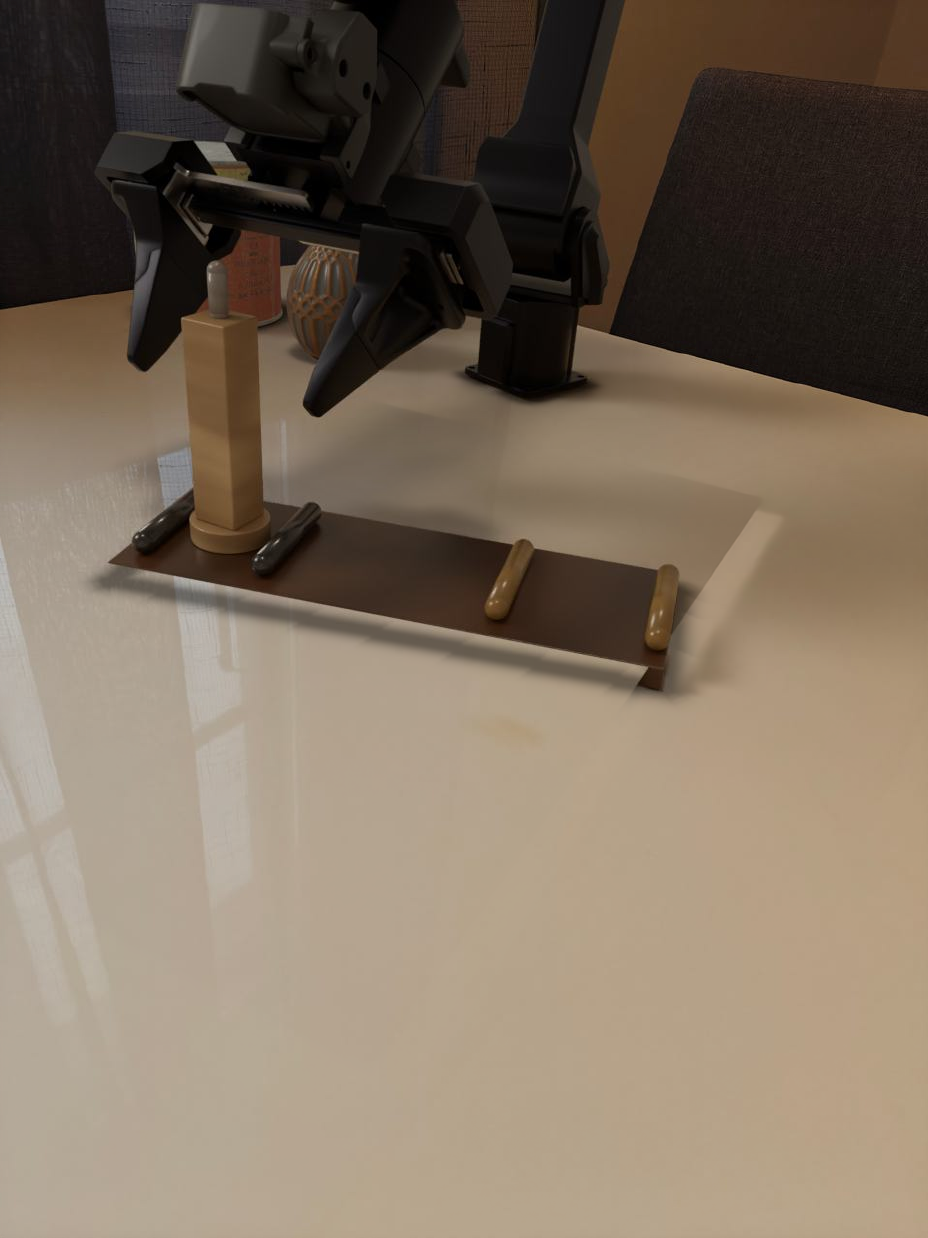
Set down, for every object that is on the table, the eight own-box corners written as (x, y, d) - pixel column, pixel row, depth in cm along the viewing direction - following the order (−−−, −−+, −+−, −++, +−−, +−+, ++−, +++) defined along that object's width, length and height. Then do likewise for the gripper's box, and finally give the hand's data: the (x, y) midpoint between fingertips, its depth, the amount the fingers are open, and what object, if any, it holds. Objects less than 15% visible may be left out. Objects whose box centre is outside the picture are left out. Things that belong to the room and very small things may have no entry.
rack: (109, 582, 44) (104, 541, 43) (198, 506, 51) (196, 469, 50) (660, 690, 40) (669, 647, 39) (675, 591, 47) (683, 553, 46)
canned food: (141, 293, 86) (127, 137, 80) (276, 294, 88) (272, 143, 82) (137, 330, 76) (121, 156, 70) (288, 330, 79) (285, 163, 73)
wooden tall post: (225, 512, 49) (210, 246, 42) (286, 532, 47) (280, 260, 41) (173, 540, 46) (149, 260, 39) (238, 562, 44) (223, 275, 38)
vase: (395, 348, 77) (400, 227, 73) (358, 372, 71) (360, 242, 67) (313, 334, 79) (312, 214, 74) (270, 357, 73) (266, 229, 69)
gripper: (102, -87, 42) (-80, 229, 39) (511, -66, 35) (329, 318, 32) (232, 118, 52) (96, 381, 49) (569, 165, 45) (435, 473, 42)
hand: (219, 388), depth 43 cm, fingers open, 9 cm apart
